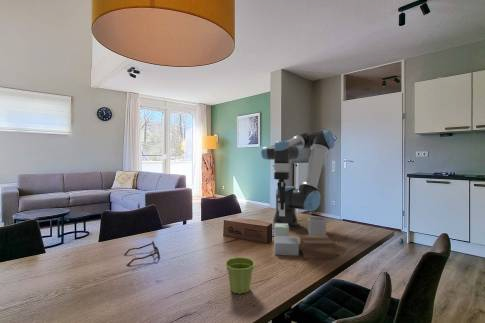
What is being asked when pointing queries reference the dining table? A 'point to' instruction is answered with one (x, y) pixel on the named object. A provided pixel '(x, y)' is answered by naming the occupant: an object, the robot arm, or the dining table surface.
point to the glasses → (145, 256)
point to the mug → (316, 225)
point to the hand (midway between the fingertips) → (281, 213)
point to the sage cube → (281, 229)
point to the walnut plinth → (316, 246)
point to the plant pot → (240, 274)
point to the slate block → (286, 245)
